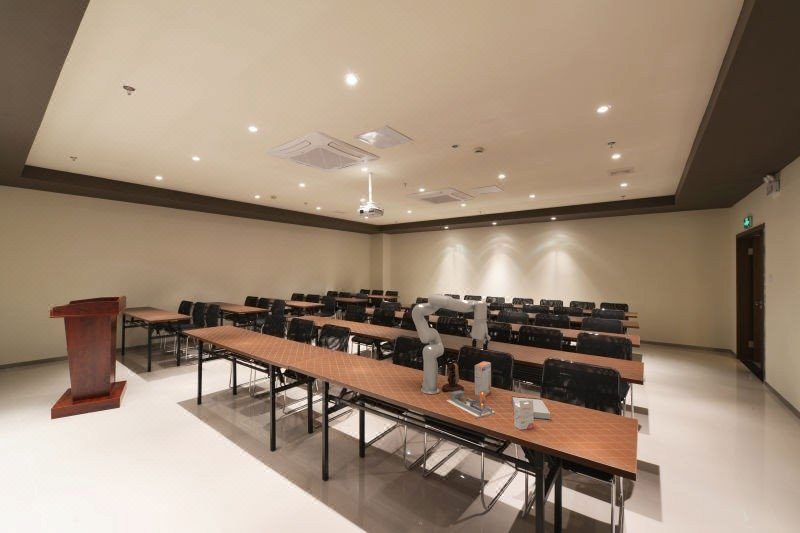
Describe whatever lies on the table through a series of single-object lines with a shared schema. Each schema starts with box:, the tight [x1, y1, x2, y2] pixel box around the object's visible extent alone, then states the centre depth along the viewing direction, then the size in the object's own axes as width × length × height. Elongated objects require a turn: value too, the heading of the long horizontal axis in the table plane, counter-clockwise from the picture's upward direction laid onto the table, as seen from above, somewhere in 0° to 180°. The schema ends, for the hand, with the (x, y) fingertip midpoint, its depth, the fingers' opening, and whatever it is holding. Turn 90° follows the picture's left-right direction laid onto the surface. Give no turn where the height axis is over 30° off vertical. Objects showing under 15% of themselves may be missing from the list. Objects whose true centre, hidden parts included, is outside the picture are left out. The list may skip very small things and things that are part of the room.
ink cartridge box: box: [513, 400, 534, 431], centre depth 177 cm, size 9×5×15 cm, turn 106°
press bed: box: [446, 390, 496, 420], centre depth 201 cm, size 27×14×6 cm, turn 31°
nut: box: [460, 395, 468, 403], centre depth 206 cm, size 4×4×4 cm
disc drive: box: [511, 395, 551, 422], centre depth 198 cm, size 18×22×5 cm
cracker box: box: [474, 360, 492, 398], centre depth 225 cm, size 14×6×21 cm, turn 142°
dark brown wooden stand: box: [441, 360, 465, 393], centre depth 233 cm, size 15×15×20 cm
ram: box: [470, 391, 489, 414], centre depth 194 cm, size 9×6×11 cm
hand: (479, 348), depth 210 cm, fingers open, 9 cm apart
